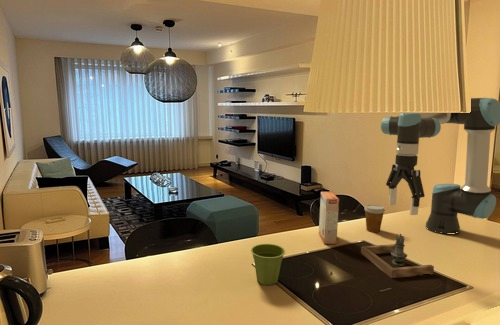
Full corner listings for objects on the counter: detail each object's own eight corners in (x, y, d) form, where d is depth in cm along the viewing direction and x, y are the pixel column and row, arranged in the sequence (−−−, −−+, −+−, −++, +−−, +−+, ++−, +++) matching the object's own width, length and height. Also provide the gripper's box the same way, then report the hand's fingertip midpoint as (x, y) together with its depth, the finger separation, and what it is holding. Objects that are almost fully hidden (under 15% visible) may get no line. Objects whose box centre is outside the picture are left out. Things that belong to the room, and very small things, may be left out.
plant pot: (254, 290, 119) (254, 258, 117) (247, 274, 130) (247, 244, 129) (288, 287, 121) (289, 255, 119) (279, 271, 133) (279, 242, 131)
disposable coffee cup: (380, 227, 182) (382, 204, 180) (385, 234, 173) (387, 209, 171) (361, 226, 183) (362, 203, 181) (365, 233, 174) (366, 209, 172)
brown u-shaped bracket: (397, 250, 153) (398, 243, 153) (433, 274, 132) (433, 266, 131) (360, 253, 150) (361, 246, 149) (391, 278, 128) (391, 270, 128)
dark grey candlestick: (407, 266, 138) (410, 236, 136) (391, 265, 139) (394, 235, 137) (404, 260, 143) (406, 231, 142) (389, 259, 145) (391, 230, 143)
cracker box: (337, 244, 159) (339, 198, 156) (323, 244, 159) (325, 198, 156) (331, 233, 173) (333, 191, 169) (318, 233, 173) (320, 191, 170)
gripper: (379, 150, 146) (376, 201, 149) (419, 159, 122) (414, 220, 125) (396, 150, 147) (392, 200, 151) (439, 159, 123) (433, 218, 126)
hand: (402, 209), depth 138 cm, fingers open, 13 cm apart
